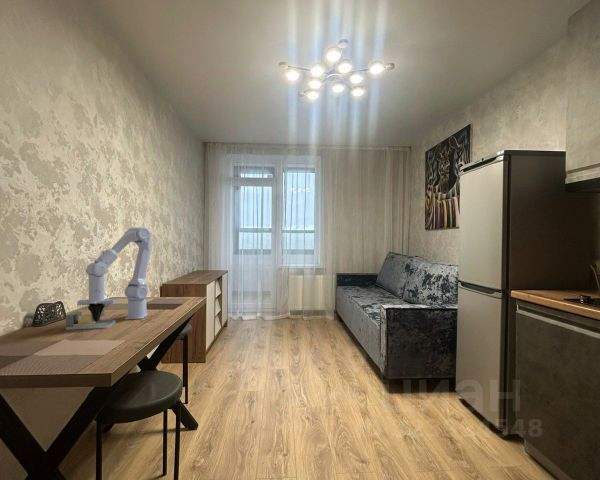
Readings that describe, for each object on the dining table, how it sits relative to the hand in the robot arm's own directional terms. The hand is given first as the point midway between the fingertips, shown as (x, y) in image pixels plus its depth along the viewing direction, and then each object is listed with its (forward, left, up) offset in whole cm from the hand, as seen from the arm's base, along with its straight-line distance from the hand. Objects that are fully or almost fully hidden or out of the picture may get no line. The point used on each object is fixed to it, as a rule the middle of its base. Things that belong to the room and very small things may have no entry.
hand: (96, 321), depth 139 cm
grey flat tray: (-1, -3, -2) cm, 4 cm away
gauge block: (0, -4, -1) cm, 4 cm away
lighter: (-21, -7, -3) cm, 22 cm away
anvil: (0, -9, -2) cm, 10 cm away
